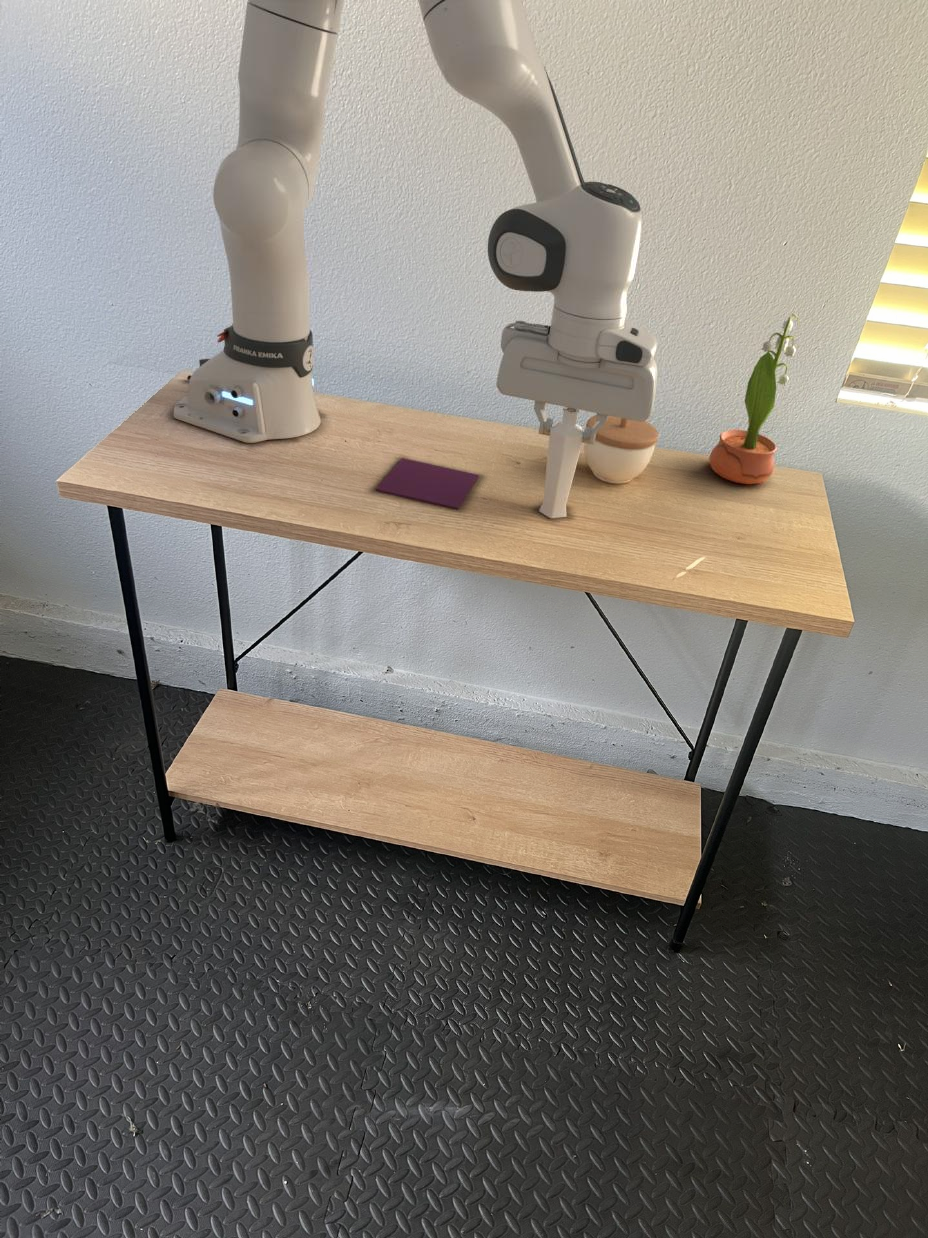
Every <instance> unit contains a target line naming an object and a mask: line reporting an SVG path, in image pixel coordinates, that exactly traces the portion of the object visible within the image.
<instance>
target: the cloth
mask: <svg viewBox="0 0 928 1238" xmlns="http://www.w3.org/2000/svg"><path fill="white" fill-rule="evenodd" d="M479 478H480V475H479V474H476V473H472V472H468V471H462V470H457V469H454V468H449V467H444V466H440V465H436V464H430V463H426V462H422V461H417V460H413V459H408V458H404V457H402V458H401V459H400V460H399V461H398V462H397V464H396V465H395V466H394V467H393V468H392V469H391V471H390V472H389V473H388V474H387V475H386V476H385V477H384V479H383V480H382V481H381V482H380V483H379V484H378V485H377V486H376V488H375V491H376V492H380V493H385V494H389V495H393V496H398V497H402V498H407V499H410V500H414V501H419V502H423V503H427V504H431V505H437V506H441V507H446V508H450V509H453V510H454V509H455V510H459V509H460V507H461V505H462V504H463V502H464V500H465V499H466V497H467V496H468V494H469V493H470V491H471V490H472V488H473V486H475V484H476V482H477V480H479Z"/></svg>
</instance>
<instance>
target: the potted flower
mask: <svg viewBox="0 0 928 1238" xmlns="http://www.w3.org/2000/svg"><path fill="white" fill-rule="evenodd" d="M793 316H794V317H796V320H797V326H799V323H800V319H799V317H798V315H797V314H795V313H793V312H792V313H791V315H790V316H789V317H788V318H787V320H785V321H783V323H782V326H781V329H783V333H782V334H781V333H780V332H774V333H773V334H771V336H770V338H769V340H767V341H764V342H763V344H762V347H761V350H762V351H763V353H765V354H763V355H762V356H760V357H759V359H758V361H757V363H756V364H755V365H754V366H753V367H754V368H753V370H752V372H751V375H750V377H749V380H748V382H747V386H746V391H745V396H744V405H745V408H746V413H747V419H748V426H747V430H745V429H729V430H725V431H722V432H721V433H720V435H719V441H718V443H717V444H716V445H715V446H714V447H713V449H712V450H711V452H710V454H709V457H708V462H709V464H710V468H711V469H712V471H714V473H716V474H717V475H718V476H719V477H721V478H723V479H724V480H727V481H730V482H733V483H736V484H742V485H754V484H760V483H764V482H765V481H766V480H768V479H769V478H770V477H771V476H772V475H773V474H774V469H775V459H774V454H775V452H776V451H777V449H778V447H777V445H776V443H775V442H774V441H773V440H772V439H771V438H769V437H767V436H765V435H762V434H760V431H761V429H762V427H763V425H764V424H765V423H766V421H767V420H768V418H769V416H770V414H771V413H772V411H773V409H774V408H775V401H776V393H777V384H779V385H782V386H783V385H784V386H787V385H788V382H789V380H790V378H789V376H788V375H787V371H788V364H787V363H786V362H780V363H779V360H780V358H781V355H782V352H783V354H784V355H785V357H791V358H794V356H795V353H796V349H797V348H796V347H795V346H794V344H795V337H794V336H793V335H791V334H790V335H787V334H788V332H791V330H792V328H793V325H794V322H793V321H792V317H793ZM774 336H777V339H776V341H775V344H773V342H772V341H771V340H772V338H773V337H774ZM789 339H791V341H792V344H791V345H788V344H789ZM774 346H775V347H774ZM772 348H773V349H774V350H776V352H775V351H774V350H773V349H772ZM773 356H774V357H773ZM783 365H784V366H785V372H784V374H781V375H780V376H779V377H778V381H777V379H776V371H777V368H778V367H780V366H783Z"/></svg>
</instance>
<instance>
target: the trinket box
mask: <svg viewBox="0 0 928 1238" xmlns="http://www.w3.org/2000/svg"><path fill="white" fill-rule="evenodd" d="M596 415H597V414H594V415H592V416H591V417H589V418H588V419H587V421H586V424H585V427H586V426H588V427H593V426H594V425H595V424H596V423H597V421H596ZM658 439H659V431H658V429H657V428H656V427H655V426H654V425H653V424H651V423H650V422H648V421H647V420H646V421H644V422H638V421H633V420H628V419H623V418H618V417H613V416H608V419H607V421H606V423H605V424H604V425H603V426H602V428H601V429H600V430H599V431H598V432H597V433H596V437H595V441H594V444H593V445H591V444H586V443H583V451H584V452H583V453H584V458H585V461H586V464H587V466H588V467H589V469H590V470H591V471H592V474H593V476H594V477H595V478H597V479H598V480H600V481H602V482H605V483H609V484H616V485H617V484H618V485H620V484H621V485H623V484H627V483H629V482H631V481H632V480H633V479H634V478H636V477H638V476H639V475H641V474H642V473H643V471H645V469H646V468H647V467H648V465H649V463H650V461H651V460H652V456H653V454H654V451H655V447H656V444H657V442H658Z"/></svg>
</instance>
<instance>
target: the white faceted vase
mask: <svg viewBox="0 0 928 1238" xmlns="http://www.w3.org/2000/svg"><path fill="white" fill-rule="evenodd" d="M562 410H563V412H562V413H563V414H562V419H561V421H559V422H557V423H555V424H554V425H552V427H551V428H550V434H549V435H548V447H547V459H546V467H545V468H546V470H545V481H544V491H543V501H542V503H541V506H540V507H539V510H538V511H539V513H541V514H543V515H544V516H546V517H548V518H550V519H558V518H566V517H567V502H568V499H569V494H570V491H571V487H572V483H573V479H574V476H575V472H576V468H577V465H578V461H579V457H580V453H581V449H582V446H583V443H582V440H583V438H584V436H583V435H584V430H583V427H582V426H581V425H580V424H577V421H578V418H579V417H578V416H579V413H580V410H578V409H573V408H568V407H563V409H562Z"/></svg>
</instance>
